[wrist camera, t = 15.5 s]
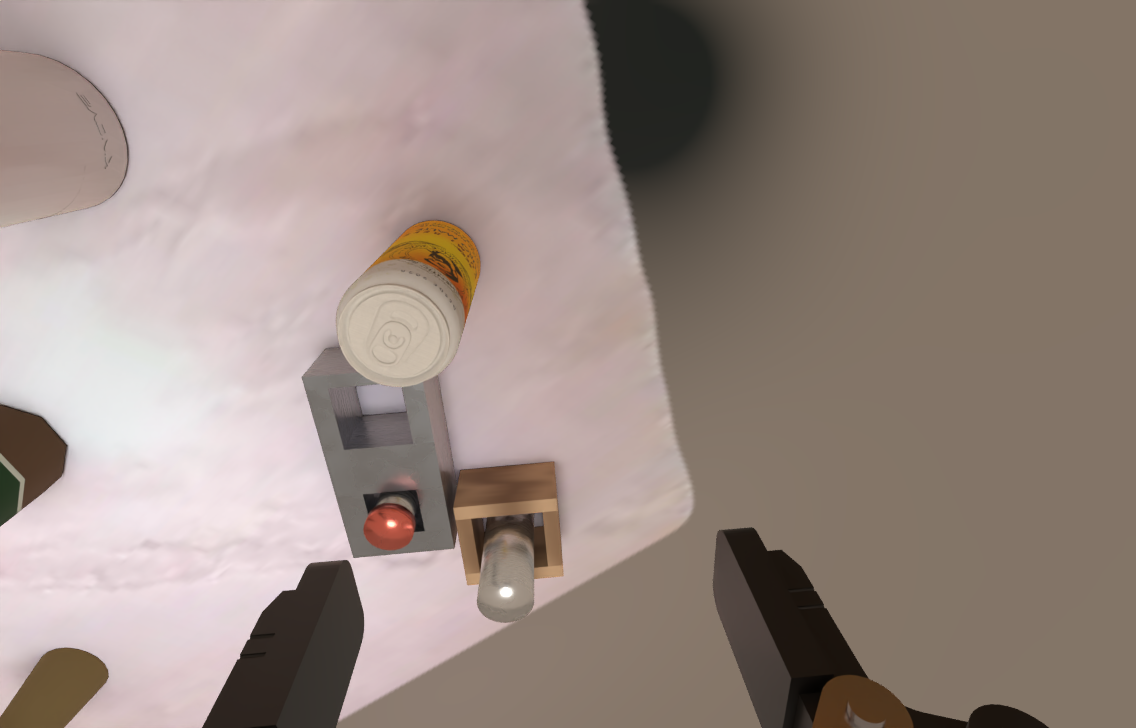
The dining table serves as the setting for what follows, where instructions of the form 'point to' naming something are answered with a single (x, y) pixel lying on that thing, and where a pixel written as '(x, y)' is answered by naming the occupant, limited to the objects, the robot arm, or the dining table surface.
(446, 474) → the socket block
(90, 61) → the dining table surface
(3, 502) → the beer bottle
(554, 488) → the wooden hollow square frame
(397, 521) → the copper-capped cylinder
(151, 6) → the dining table surface
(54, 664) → the olive knobbed peg
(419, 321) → the beer can
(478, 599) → the gray round-topped cylinder
